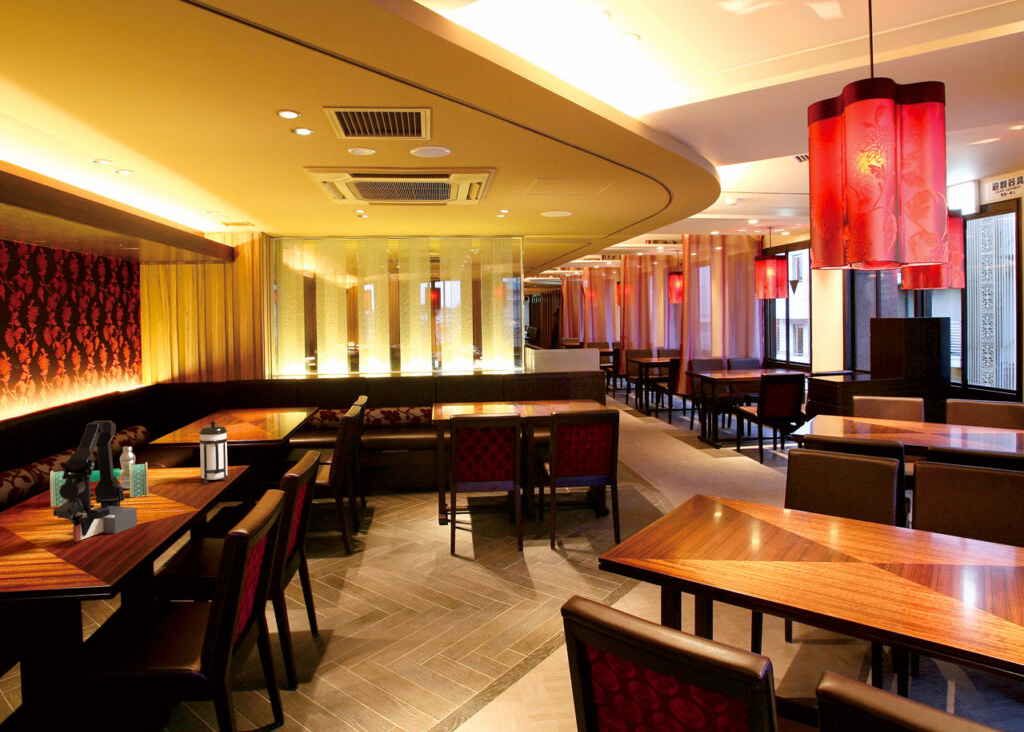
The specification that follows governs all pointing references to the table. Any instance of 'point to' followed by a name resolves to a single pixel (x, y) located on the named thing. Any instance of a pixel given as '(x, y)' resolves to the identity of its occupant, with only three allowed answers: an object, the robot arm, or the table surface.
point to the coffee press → (213, 452)
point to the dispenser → (120, 519)
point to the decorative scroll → (135, 474)
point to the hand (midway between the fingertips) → (82, 535)
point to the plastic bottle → (126, 464)
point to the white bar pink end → (95, 529)
